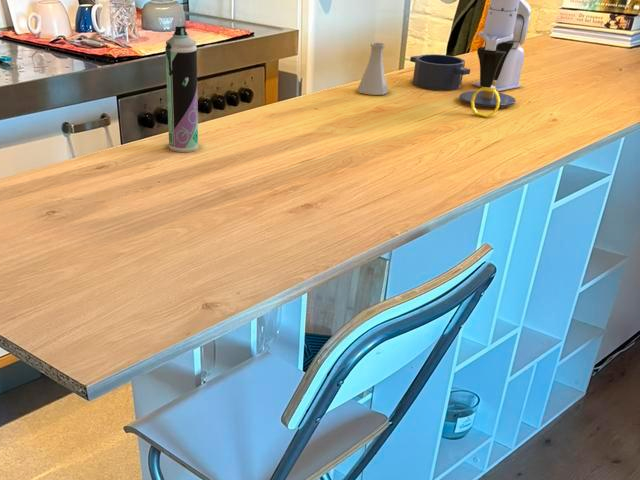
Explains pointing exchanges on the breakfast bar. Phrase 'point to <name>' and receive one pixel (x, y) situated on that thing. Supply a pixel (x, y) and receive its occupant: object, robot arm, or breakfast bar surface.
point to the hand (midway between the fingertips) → (488, 83)
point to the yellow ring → (485, 90)
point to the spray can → (182, 91)
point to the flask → (374, 73)
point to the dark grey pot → (438, 72)
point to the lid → (487, 98)
